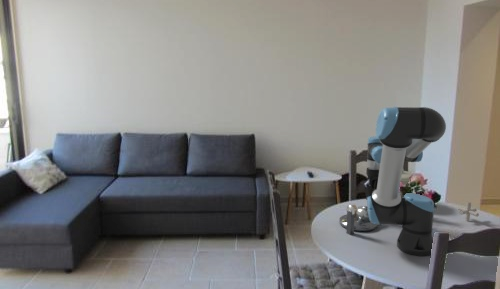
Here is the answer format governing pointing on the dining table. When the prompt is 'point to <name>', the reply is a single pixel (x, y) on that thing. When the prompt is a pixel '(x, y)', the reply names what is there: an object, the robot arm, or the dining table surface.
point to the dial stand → (350, 219)
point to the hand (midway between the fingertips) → (372, 212)
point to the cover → (363, 213)
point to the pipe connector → (468, 211)
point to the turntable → (357, 223)
